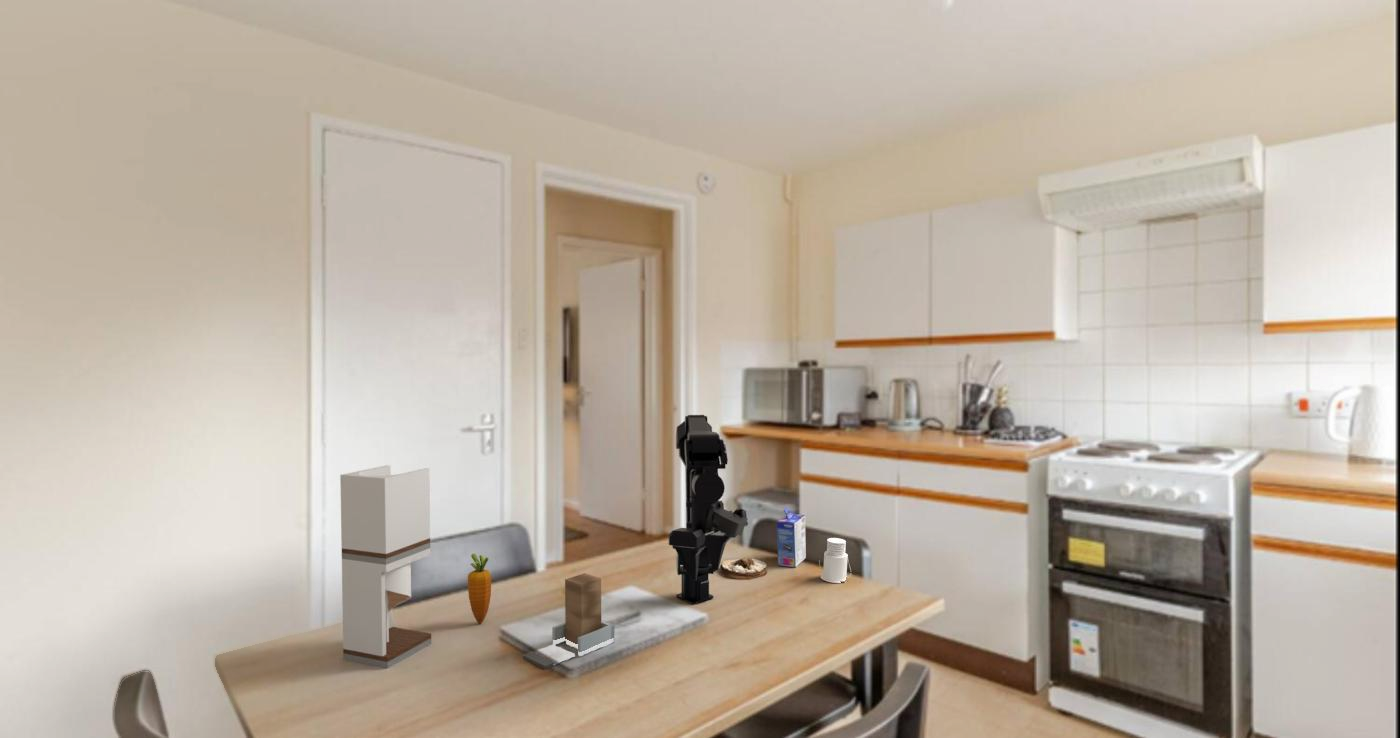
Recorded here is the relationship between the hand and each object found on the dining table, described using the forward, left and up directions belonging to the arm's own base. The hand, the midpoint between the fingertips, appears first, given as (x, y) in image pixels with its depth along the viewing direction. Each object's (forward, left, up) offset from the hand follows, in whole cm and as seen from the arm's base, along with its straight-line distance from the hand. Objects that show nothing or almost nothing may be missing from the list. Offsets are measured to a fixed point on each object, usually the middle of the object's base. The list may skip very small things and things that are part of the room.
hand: (704, 575), depth 140 cm
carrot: (-37, -32, -14) cm, 50 cm away
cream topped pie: (-27, +35, -14) cm, 47 cm away
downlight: (-8, +49, -14) cm, 52 cm away
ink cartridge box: (-25, +51, -14) cm, 59 cm away
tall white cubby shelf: (-35, -51, -14) cm, 63 cm away
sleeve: (-13, -23, -13) cm, 30 cm away
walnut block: (-14, -20, -13) cm, 28 cm away
